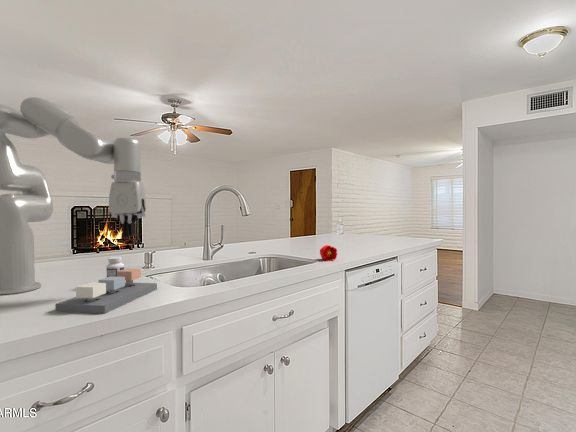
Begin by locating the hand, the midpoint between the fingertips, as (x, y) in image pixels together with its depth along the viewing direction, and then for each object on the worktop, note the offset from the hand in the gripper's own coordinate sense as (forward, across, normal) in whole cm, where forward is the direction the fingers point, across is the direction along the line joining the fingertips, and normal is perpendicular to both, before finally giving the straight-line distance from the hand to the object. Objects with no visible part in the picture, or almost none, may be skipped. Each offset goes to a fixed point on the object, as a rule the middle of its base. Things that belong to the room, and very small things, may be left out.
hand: (128, 235), depth 99 cm
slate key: (+17, 0, -8) cm, 18 cm away
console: (+18, 0, -8) cm, 20 cm away
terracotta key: (+16, 0, 0) cm, 16 cm away
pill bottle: (+18, -10, +7) cm, 22 cm away
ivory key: (+17, 0, -16) cm, 23 cm away
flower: (+18, +62, +70) cm, 95 cm away
